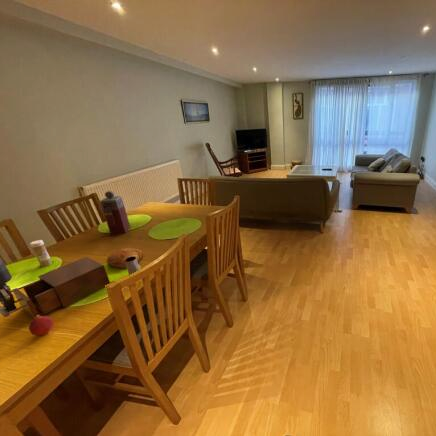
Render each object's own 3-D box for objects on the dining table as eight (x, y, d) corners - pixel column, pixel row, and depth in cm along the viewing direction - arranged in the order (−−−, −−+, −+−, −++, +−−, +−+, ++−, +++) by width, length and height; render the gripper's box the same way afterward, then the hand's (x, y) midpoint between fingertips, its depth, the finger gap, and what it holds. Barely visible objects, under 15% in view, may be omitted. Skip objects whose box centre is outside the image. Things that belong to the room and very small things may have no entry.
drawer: (14, 332, 83) (2, 312, 80) (0, 318, 89) (-12, 299, 86) (86, 295, 101) (78, 277, 97) (70, 285, 107) (63, 268, 103)
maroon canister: (109, 236, 153) (95, 194, 142) (116, 229, 163) (103, 189, 152) (124, 235, 155) (112, 193, 144) (130, 228, 165) (119, 188, 154)
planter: (137, 273, 116) (131, 255, 112) (143, 276, 114) (138, 257, 110) (128, 279, 112) (122, 260, 108) (135, 281, 110) (129, 262, 106)
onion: (37, 343, 80) (27, 325, 77) (31, 335, 83) (21, 318, 80) (59, 331, 85) (50, 313, 81) (53, 324, 87) (45, 307, 84)
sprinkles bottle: (48, 267, 122) (37, 243, 117) (38, 267, 121) (26, 244, 116) (55, 262, 126) (44, 239, 121) (45, 262, 125) (34, 240, 120)
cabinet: (64, 309, 94) (54, 287, 90) (48, 297, 101) (37, 276, 97) (111, 285, 108) (103, 264, 104) (93, 275, 115) (86, 256, 110)
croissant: (123, 276, 118) (119, 263, 114) (102, 264, 123) (98, 252, 119) (149, 260, 130) (147, 248, 126) (130, 251, 135) (127, 239, 131)
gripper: (-34, 271, 80) (-9, 311, 87) (-22, 283, 74) (4, 325, 81) (-1, 261, 86) (20, 299, 93) (12, 271, 80) (34, 311, 87)
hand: (12, 311), depth 87 cm, fingers closed
